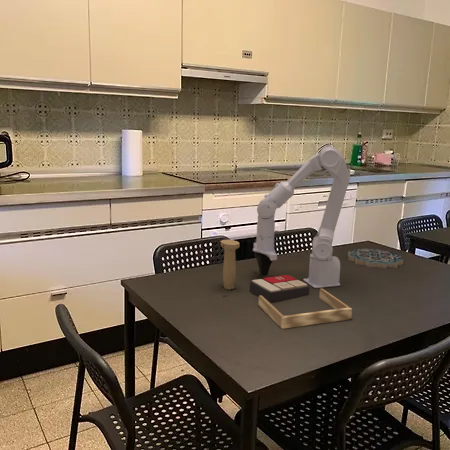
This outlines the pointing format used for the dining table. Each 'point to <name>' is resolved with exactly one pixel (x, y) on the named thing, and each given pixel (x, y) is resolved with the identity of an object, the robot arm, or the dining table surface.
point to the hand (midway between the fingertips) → (263, 274)
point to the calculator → (278, 288)
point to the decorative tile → (375, 258)
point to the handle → (229, 263)
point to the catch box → (336, 314)
